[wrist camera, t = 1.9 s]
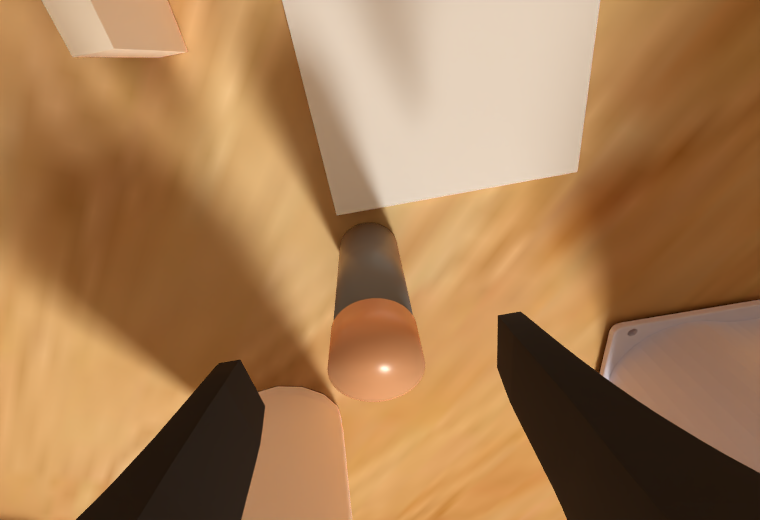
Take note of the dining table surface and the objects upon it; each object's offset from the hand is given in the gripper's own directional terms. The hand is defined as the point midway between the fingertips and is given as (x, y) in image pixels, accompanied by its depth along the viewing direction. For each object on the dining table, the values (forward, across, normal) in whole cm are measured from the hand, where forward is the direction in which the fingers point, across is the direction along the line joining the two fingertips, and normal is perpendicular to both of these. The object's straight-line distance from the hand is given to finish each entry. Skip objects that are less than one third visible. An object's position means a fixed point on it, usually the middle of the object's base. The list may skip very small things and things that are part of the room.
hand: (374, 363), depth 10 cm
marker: (+7, 0, 0) cm, 7 cm away
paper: (+7, -4, -6) cm, 10 cm away
